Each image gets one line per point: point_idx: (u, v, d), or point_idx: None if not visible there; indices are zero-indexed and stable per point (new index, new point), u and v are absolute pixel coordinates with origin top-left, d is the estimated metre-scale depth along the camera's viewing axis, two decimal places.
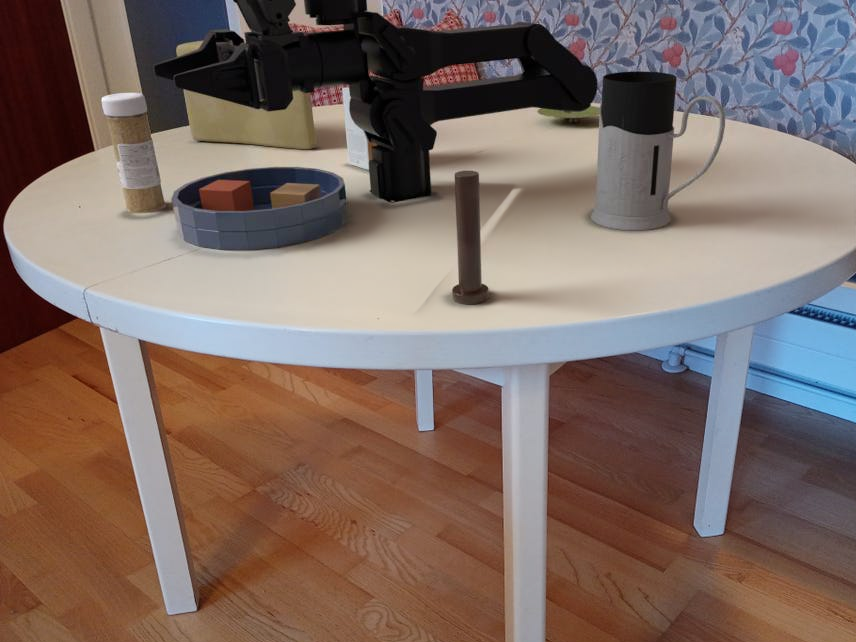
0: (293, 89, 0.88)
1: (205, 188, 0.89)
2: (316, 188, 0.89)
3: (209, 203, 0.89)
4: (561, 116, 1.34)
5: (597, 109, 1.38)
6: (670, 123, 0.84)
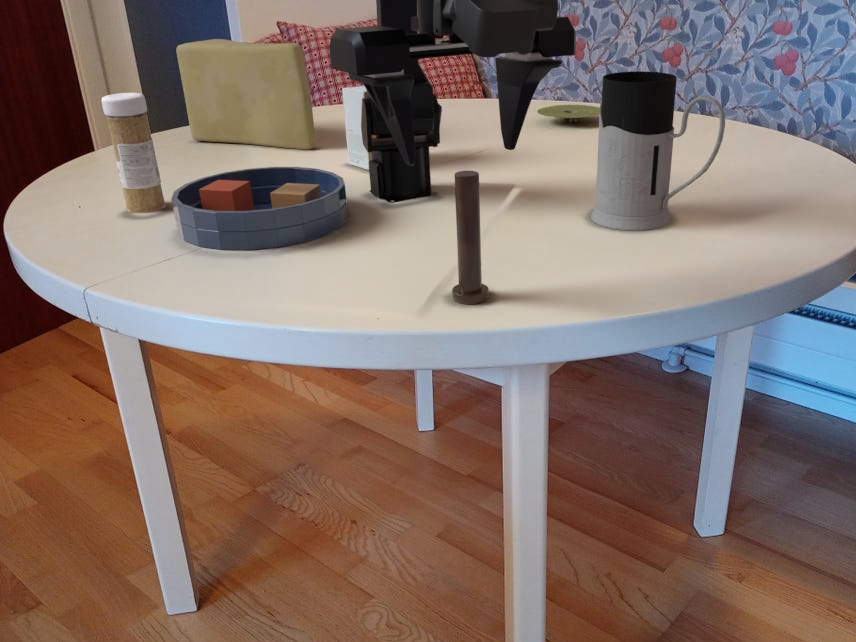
0: None
1: (205, 188, 0.89)
2: (316, 188, 0.89)
3: (209, 203, 0.89)
4: (561, 116, 1.34)
5: (597, 109, 1.38)
6: (670, 123, 0.84)
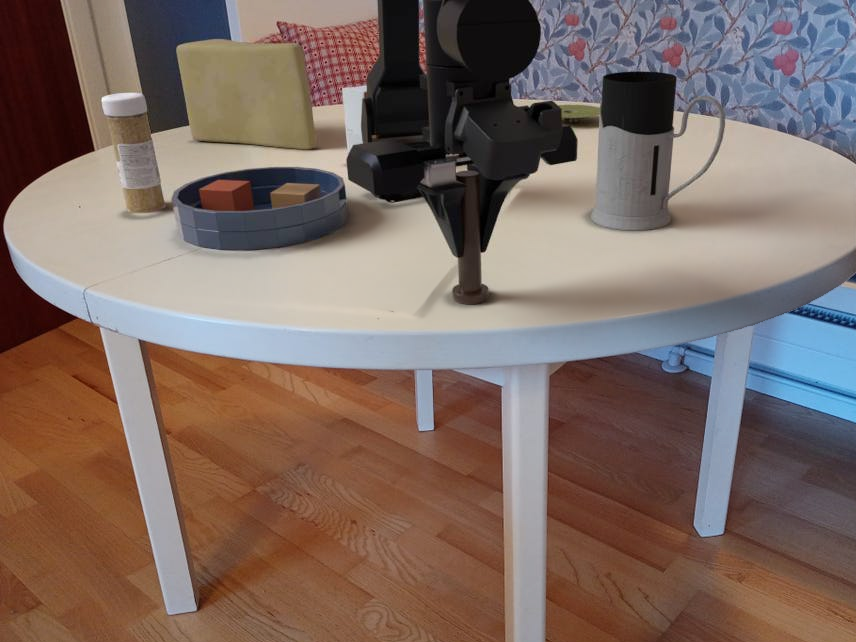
0: None
1: (205, 188, 0.89)
2: (316, 188, 0.89)
3: (209, 203, 0.89)
4: None
5: (597, 109, 1.38)
6: (670, 123, 0.84)
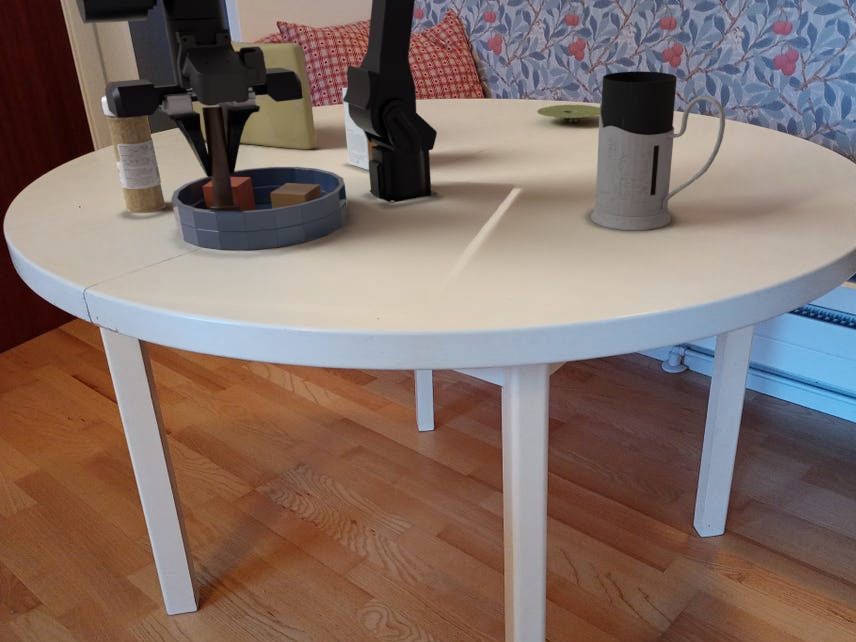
0: None
1: (208, 185, 0.90)
2: (316, 188, 0.89)
3: (213, 200, 0.91)
4: (561, 116, 1.34)
5: (597, 109, 1.38)
6: (670, 123, 0.84)
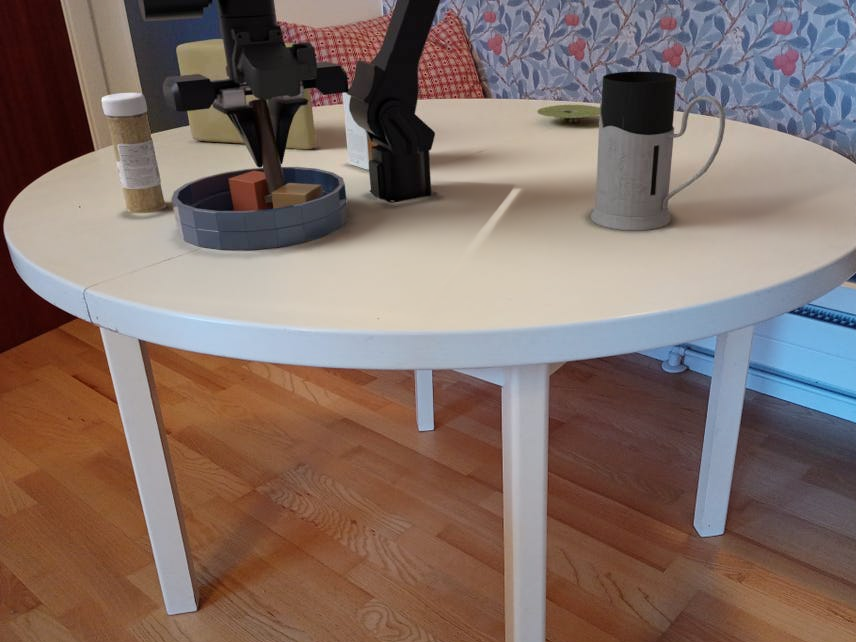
0: None
1: (255, 181, 0.91)
2: (317, 189, 0.89)
3: (262, 194, 0.92)
4: (561, 116, 1.34)
5: (597, 109, 1.38)
6: (670, 123, 0.84)
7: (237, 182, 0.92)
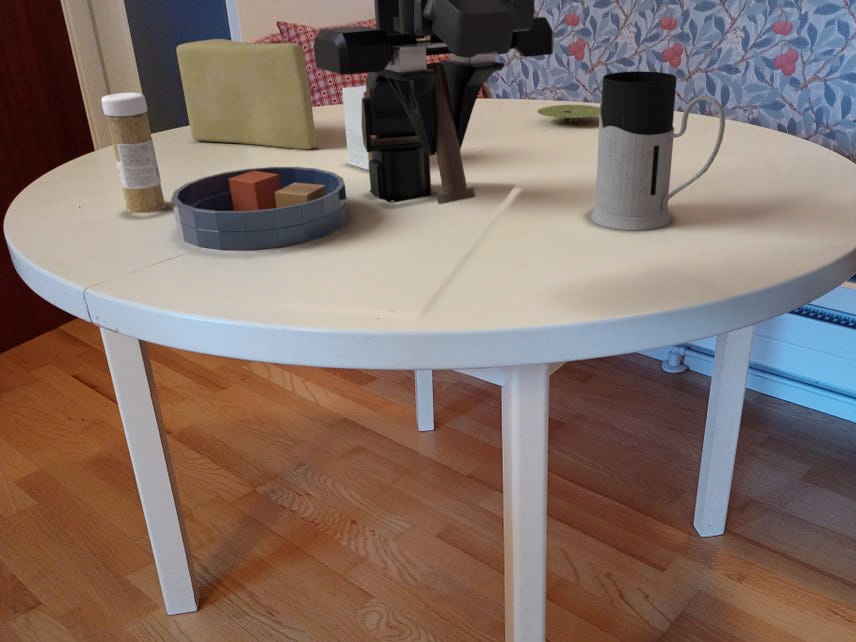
0: None
1: (255, 181, 0.91)
2: (321, 189, 0.88)
3: (262, 194, 0.92)
4: (561, 116, 1.34)
5: (597, 109, 1.38)
6: (670, 123, 0.84)
7: (237, 182, 0.92)
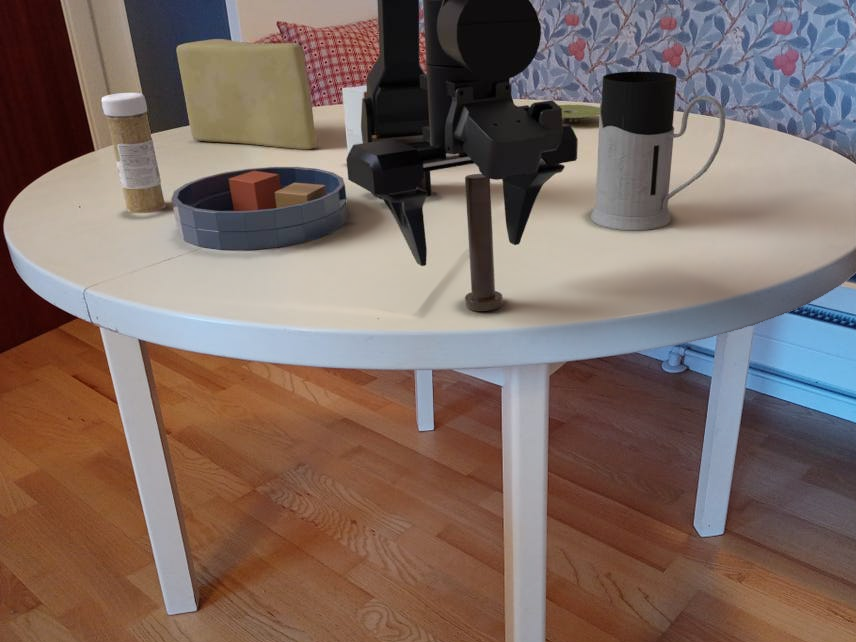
0: None
1: (255, 181, 0.91)
2: (321, 189, 0.88)
3: (262, 194, 0.92)
4: None
5: (597, 109, 1.38)
6: (670, 123, 0.84)
7: (237, 182, 0.92)
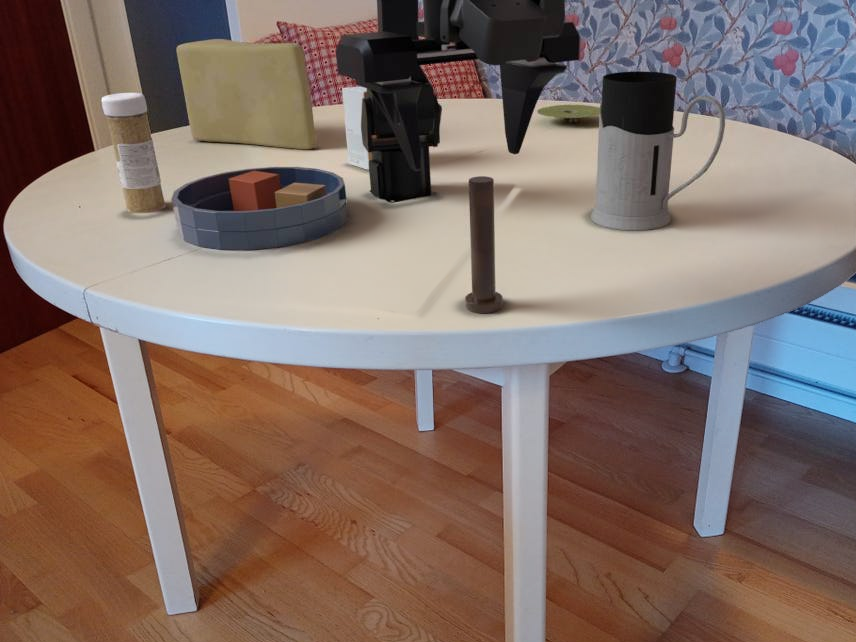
0: None
1: (255, 181, 0.91)
2: (321, 189, 0.88)
3: (262, 194, 0.92)
4: (561, 116, 1.34)
5: (597, 109, 1.38)
6: (670, 123, 0.84)
7: (237, 182, 0.92)
